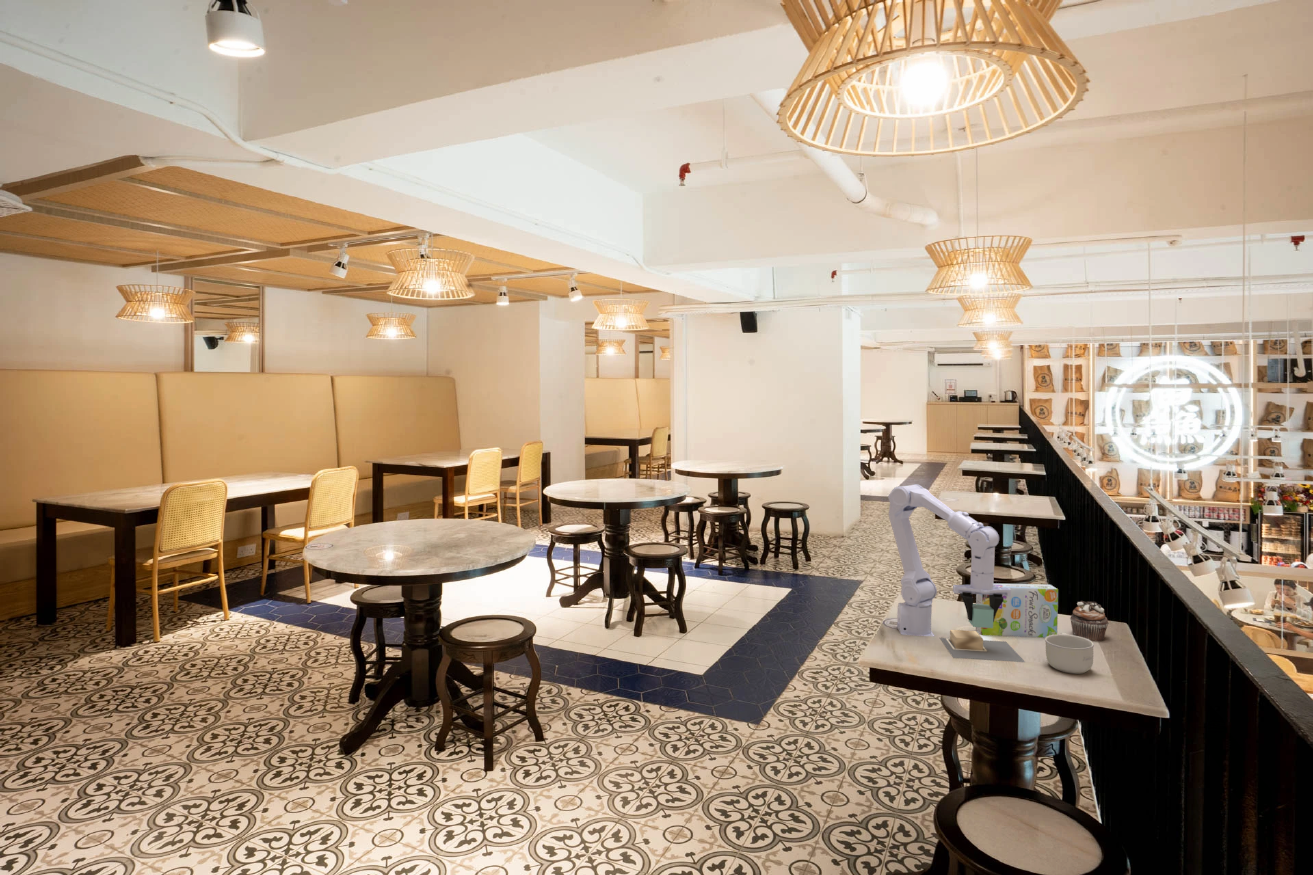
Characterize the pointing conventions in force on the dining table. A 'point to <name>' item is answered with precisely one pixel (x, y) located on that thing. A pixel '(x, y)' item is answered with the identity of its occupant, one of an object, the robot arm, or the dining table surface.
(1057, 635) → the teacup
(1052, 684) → the dining table surface
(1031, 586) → the snack box
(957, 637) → the maple base
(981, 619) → the teal block
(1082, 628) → the cupcake
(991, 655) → the grey flat slab
